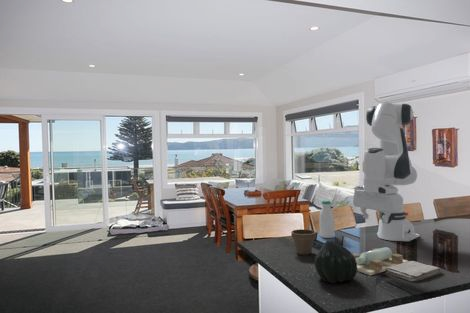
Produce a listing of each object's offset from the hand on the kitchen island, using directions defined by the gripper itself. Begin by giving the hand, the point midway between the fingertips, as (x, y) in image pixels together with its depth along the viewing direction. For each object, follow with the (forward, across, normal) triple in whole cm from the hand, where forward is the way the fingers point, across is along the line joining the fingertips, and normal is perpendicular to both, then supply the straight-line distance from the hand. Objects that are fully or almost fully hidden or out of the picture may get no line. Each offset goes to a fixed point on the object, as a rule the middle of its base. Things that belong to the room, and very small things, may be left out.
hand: (375, 220), depth 143 cm
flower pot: (+19, -29, -13) cm, 38 cm away
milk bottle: (+20, -44, +16) cm, 51 cm away
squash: (+18, +3, -26) cm, 32 cm away
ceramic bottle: (+17, +1, -2) cm, 18 cm away
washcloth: (+19, +14, +4) cm, 24 cm away
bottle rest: (+18, +1, 0) cm, 19 cm away
